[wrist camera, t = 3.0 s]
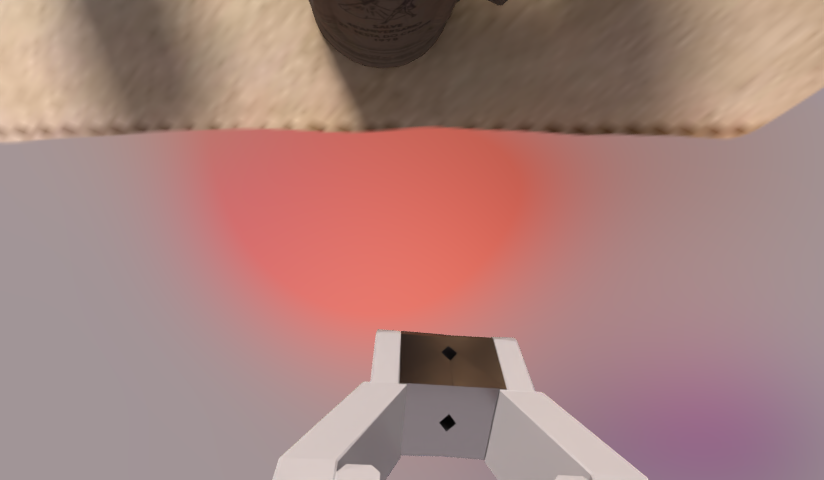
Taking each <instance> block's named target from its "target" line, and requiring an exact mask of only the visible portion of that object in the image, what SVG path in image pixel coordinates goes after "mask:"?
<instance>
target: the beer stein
mask: <svg viewBox="0 0 824 480" xmlns="http://www.w3.org/2000/svg"><path fill="white" fill-rule="evenodd" d="M458 1H459V0H309V2H310V4H311V7H312V11H313V14H314V17H315V20H316V22H317V24H318V26H319V28H320V30H321V32H322V33H323V35H324V36H325V38H326V39H327V40H328V41H329V42H330V43H331V44H332V45H333V46H334V47H335V48H336V49H337V50H338V51H339V52H341V53H342V54H343V55H345V56H346V57H348V58H349V59H351V60H353V61H355V62H357V63H360V64H362V65H366V66H372V67H378V68H386V67H397V66H400V65H404V64H407V63H409V62H411V61H413V60H415V59H417V58H418V57H420V56H422V55H423V54H424V53H425V52H426V51H427V50H428V49H429V48H430V47H431V46H432V45H433V44H434V43H435V42H436V40H437V39H438V37H439V36H440V34H441V32H442V31H443V29H444V27H445V24H446V21H447V19H448V18H449V17H450V15H451V13H452V10H453V8H454V5H455V4H456V3H457V2H458ZM488 1H491V2H493V3H494V4H496V5H503V4H504V3H505V2H506V1H508V0H488Z"/></svg>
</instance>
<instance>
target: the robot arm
mask: <svg viewBox="0 0 824 480" xmlns="http://www.w3.org/2000/svg"><path fill="white" fill-rule="evenodd" d="M401 455H409V456H412V455H413V456H445V457H457V458H469V459H481V460H485V463H486V465H487V466H488V467H489V469H490V470H491V471H492V473H493V474H494V475H495V477H496V478H497V479H498V480H649V479H648V478H647V477H646V476H645V475H643V474H642V473H641V472H640V471H638V470H637V469H636V468H635V467H633V466H632V465H631V464H630V463H628V462H627V461H626V460H625V459H624V458H622V457H621V456H620V455H619V454H617V453H616V452H615V451H614V450H612V449H611V448H610V447H609V446H608V445H607V444H605V443H604V442H603V441H601V440H600V439H599V438H598V437H597V436H596V435H594V434H593V433H592V432H591V431H589V430H588V429H587V428H586V427H585V426H583V425H582V424H581V423H580V422H578V421H577V420H576V419H575V418H573V417H572V416H571V415H570V414H569V413H567V412H566V411H565V410H563V409H562V408H561V407H560V406H559V405H557V404H556V403H555V402H554V401H553V400H551V399H550V398H549V397H548V396H547V395H545V394H544V393H543V392H535V389H534V386H533V383H532V381H531V378H530V375H529V372H528V370H527V367H526V364H525V362H524V359H523V356H522V353H521V350H520V348H519V345H518V342H517V341H516V339H515V338H505V337H491V338H486V337H467V336H451V335H442V334H431V333H418V332H407V331H401V333H400V331H394V330H379V329H378V330H377V332H376V339H375V347H374V355H373V363H372V372H371V381H370V382H362V383H361V384H360V385H359V386H358V387H357V388H356V389H355V390H353V391H352V392H351V393H350V394H349V395H348V396H347V397H346V398H345V399H344V400H342V401H341V402H340V403H339V404H338V405H337V406H336V407H335V408H334V409H333V410H331V411H330V412H329V413H328V414H327V415H326V416H325V417H324V418H323V419H322V420H320V421H319V422H318V423H317V424H316V425H315V426H314V427H313V428H312V429H311V430H310V431H308V432H307V433H306V434H305V435H304V436H303V437H302V438H301V439H300V440H298V441H297V442H296V443H295V444H294V445H293V446H292V447H291V448H290V449H289V450H287V451H286V452H285V453H284V454H283V455H282V456H281V457H280V458H279V460H278V464H277V467H276V470H275V473H274V476H273V479H272V480H386V479H387V477H388V476H389V474H390V473H391V471H392V469H393V468H394V467H395V465H396V464H397V462H398V461H399V459H400V456H401Z"/></svg>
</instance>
